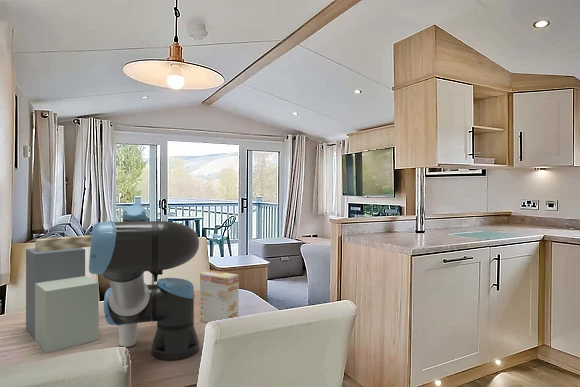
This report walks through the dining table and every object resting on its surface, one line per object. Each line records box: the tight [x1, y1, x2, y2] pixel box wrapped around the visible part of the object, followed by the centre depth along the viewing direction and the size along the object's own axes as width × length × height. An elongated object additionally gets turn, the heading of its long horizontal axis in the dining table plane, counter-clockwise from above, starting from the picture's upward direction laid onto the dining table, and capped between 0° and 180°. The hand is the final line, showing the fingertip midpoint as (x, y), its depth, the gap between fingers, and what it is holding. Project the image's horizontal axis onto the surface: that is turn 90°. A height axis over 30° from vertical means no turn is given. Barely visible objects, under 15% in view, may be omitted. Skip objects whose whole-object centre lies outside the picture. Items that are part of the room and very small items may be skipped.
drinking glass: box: [117, 323, 138, 348], centre depth 132 cm, size 7×7×15 cm
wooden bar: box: [34, 234, 92, 252], centre depth 148 cm, size 24×4×4 cm, turn 135°
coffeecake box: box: [199, 269, 240, 324], centre depth 154 cm, size 15×7×20 cm, turn 57°
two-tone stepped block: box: [25, 247, 100, 354], centre depth 139 cm, size 16×28×30 cm, turn 45°
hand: (134, 288), depth 149 cm, fingers open, 13 cm apart
